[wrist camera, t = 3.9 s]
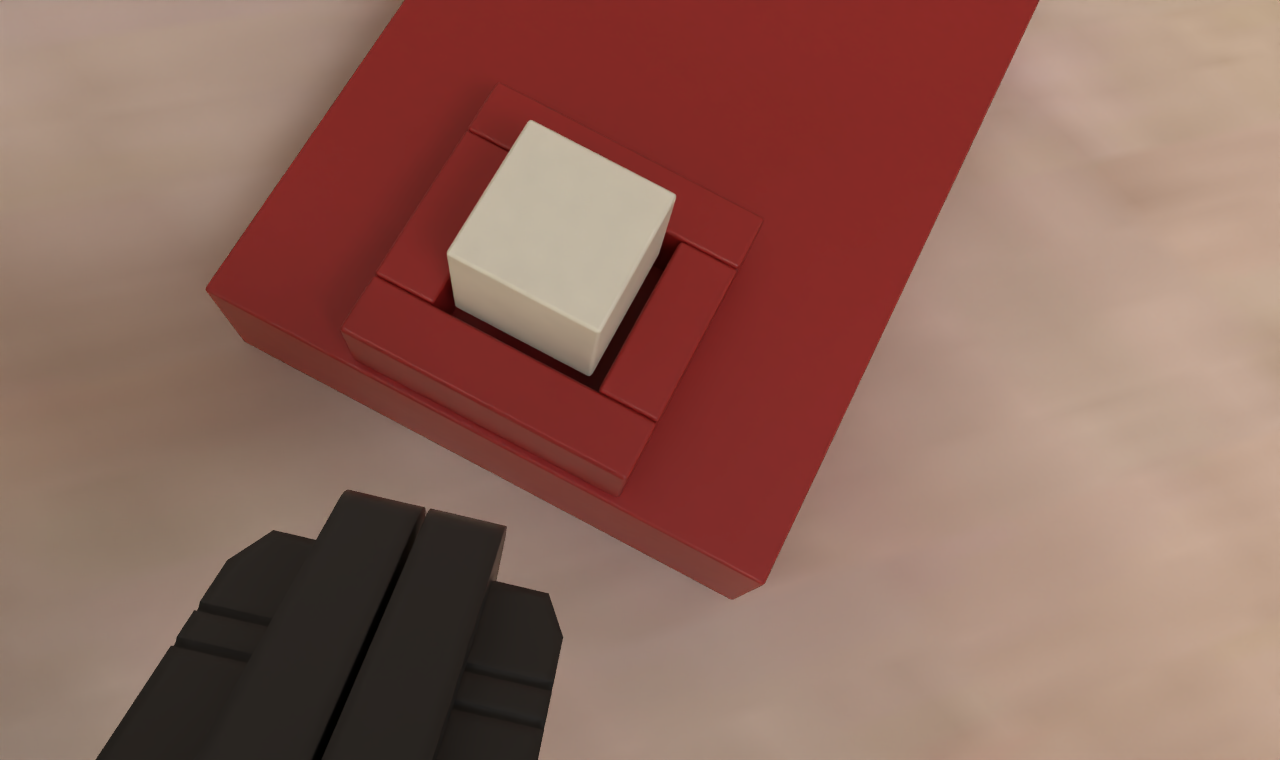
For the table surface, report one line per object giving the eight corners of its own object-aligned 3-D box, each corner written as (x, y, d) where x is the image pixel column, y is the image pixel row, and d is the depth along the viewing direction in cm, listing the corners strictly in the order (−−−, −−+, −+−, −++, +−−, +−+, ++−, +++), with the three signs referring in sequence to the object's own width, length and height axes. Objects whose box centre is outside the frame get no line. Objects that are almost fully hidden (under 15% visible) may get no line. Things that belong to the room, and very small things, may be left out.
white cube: (453, 306, 20) (444, 252, 18) (527, 184, 21) (528, 117, 19) (590, 378, 20) (600, 334, 18) (659, 252, 21) (678, 194, 19)
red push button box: (242, 341, 24) (175, 252, 20) (586, -174, 29) (600, -346, 24) (732, 601, 24) (785, 575, 19) (1002, 36, 29) (1099, -98, 24)
